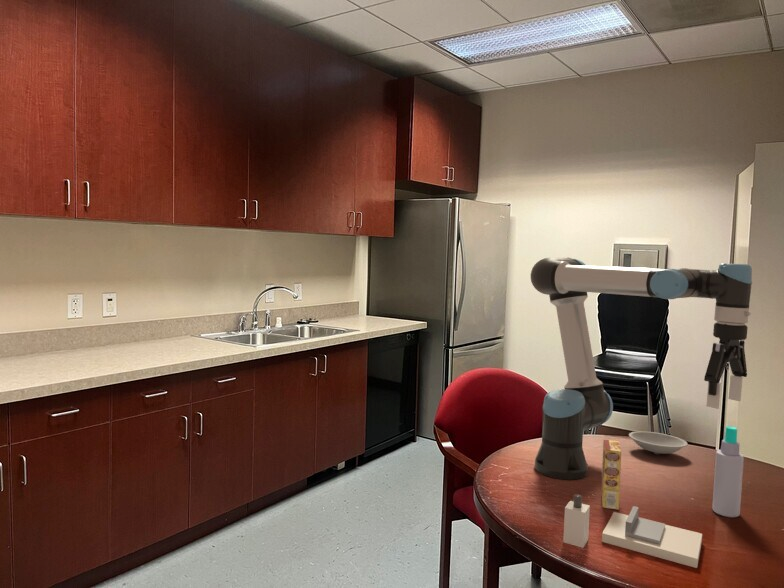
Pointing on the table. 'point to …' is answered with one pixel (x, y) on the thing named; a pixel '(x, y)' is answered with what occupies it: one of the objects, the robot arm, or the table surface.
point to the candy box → (611, 474)
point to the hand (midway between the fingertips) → (723, 403)
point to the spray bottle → (728, 476)
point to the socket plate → (672, 545)
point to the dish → (657, 442)
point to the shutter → (643, 527)
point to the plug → (576, 522)
